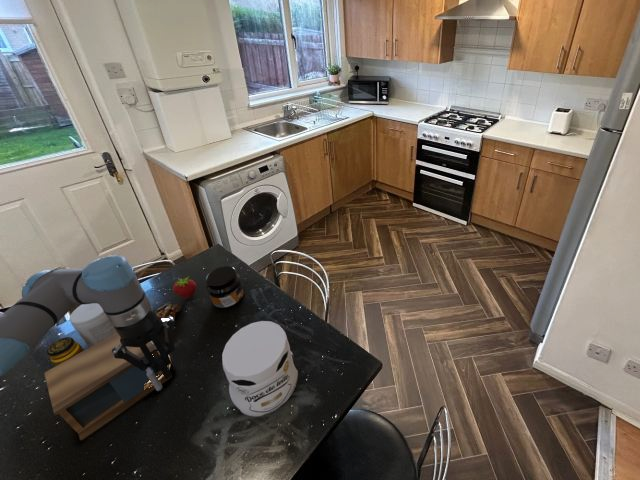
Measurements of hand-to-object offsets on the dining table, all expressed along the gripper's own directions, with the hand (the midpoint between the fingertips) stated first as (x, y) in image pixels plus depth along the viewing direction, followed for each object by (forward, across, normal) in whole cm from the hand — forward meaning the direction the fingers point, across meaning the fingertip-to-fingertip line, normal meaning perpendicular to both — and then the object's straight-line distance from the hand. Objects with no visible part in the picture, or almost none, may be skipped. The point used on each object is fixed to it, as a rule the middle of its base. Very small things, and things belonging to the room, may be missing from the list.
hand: (167, 374), depth 83 cm
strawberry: (+6, +16, +30) cm, 34 cm away
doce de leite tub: (+6, +16, -20) cm, 27 cm away
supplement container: (+6, +25, +18) cm, 31 cm away
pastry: (+6, +6, +26) cm, 27 cm away
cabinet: (+6, -9, +11) cm, 16 cm away
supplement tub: (+6, -7, +30) cm, 31 cm away
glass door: (+4, -5, +2) cm, 7 cm away
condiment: (+6, -16, +26) cm, 31 cm away
